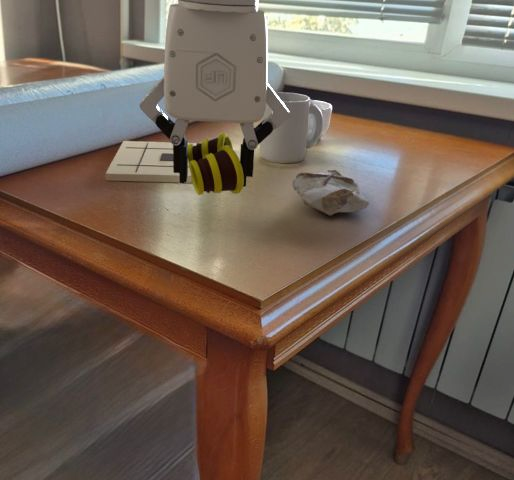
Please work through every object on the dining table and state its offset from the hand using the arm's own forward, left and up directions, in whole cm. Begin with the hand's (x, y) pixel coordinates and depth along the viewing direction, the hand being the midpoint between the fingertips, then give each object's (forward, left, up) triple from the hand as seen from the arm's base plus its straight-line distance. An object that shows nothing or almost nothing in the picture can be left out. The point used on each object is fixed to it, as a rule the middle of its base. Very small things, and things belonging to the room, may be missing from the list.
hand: (213, 179), depth 66 cm
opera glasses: (0, 0, -1) cm, 1 cm away
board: (-6, +25, -6) cm, 26 cm away
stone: (+15, +10, -6) cm, 19 cm away
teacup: (+16, +43, -6) cm, 46 cm away
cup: (+12, +31, -6) cm, 33 cm away
